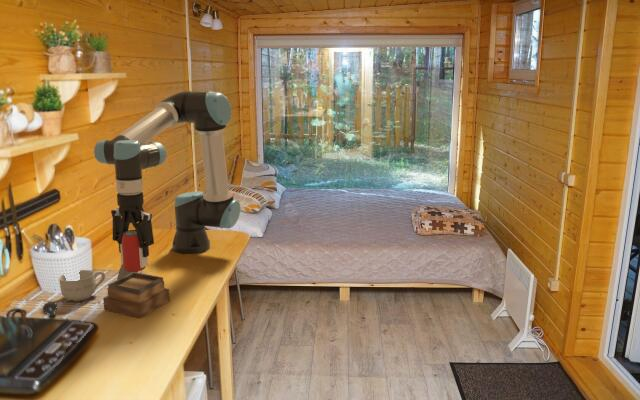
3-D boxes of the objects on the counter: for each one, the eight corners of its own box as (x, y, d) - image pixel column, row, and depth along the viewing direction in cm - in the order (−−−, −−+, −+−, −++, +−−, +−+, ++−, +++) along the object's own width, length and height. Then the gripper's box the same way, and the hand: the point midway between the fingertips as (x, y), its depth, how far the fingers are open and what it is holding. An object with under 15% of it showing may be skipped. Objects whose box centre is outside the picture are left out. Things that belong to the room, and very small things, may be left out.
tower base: (135, 293, 184) (133, 270, 182) (169, 300, 179) (168, 276, 177) (104, 309, 172) (102, 285, 170) (140, 318, 166) (138, 293, 164)
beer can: (133, 274, 168) (131, 236, 165) (119, 269, 171) (116, 232, 168) (150, 268, 173) (148, 231, 170) (136, 263, 177) (133, 227, 174)
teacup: (62, 307, 173) (59, 283, 171) (60, 294, 182) (57, 271, 180) (109, 299, 179) (107, 276, 177) (104, 287, 189) (103, 265, 187)
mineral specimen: (143, 282, 193) (142, 260, 191) (117, 286, 190) (116, 264, 188) (141, 275, 200) (140, 254, 198) (116, 278, 196) (114, 257, 194)
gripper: (95, 191, 167) (101, 263, 172) (147, 198, 159) (152, 273, 165) (113, 186, 173) (118, 256, 179) (164, 193, 166) (168, 265, 172)
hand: (134, 264), depth 172 cm, fingers closed on beer can, 6 cm apart
